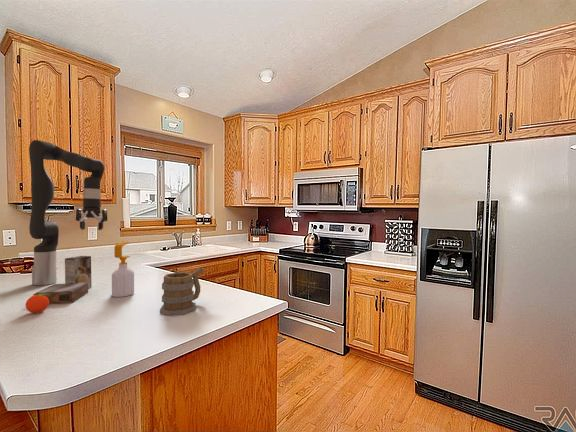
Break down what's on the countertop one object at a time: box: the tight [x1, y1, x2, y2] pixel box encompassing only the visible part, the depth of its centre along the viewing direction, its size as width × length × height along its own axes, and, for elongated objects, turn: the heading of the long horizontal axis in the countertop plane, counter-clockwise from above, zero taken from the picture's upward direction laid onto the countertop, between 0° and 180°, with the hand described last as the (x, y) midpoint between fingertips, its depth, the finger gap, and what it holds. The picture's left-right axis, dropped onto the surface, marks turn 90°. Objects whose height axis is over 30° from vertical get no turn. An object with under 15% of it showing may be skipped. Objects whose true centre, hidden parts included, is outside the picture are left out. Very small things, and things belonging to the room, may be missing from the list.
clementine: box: [25, 294, 50, 314], centre depth 113 cm, size 8×7×7 cm
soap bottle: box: [111, 241, 135, 298], centre depth 137 cm, size 9×9×25 cm
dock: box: [32, 283, 89, 305], centre depth 130 cm, size 14×17×5 cm
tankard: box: [159, 267, 205, 317], centre depth 119 cm, size 20×13×15 cm, turn 148°
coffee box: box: [64, 255, 93, 289], centre depth 146 cm, size 9×6×16 cm
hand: (91, 229), depth 150 cm, fingers open, 8 cm apart
